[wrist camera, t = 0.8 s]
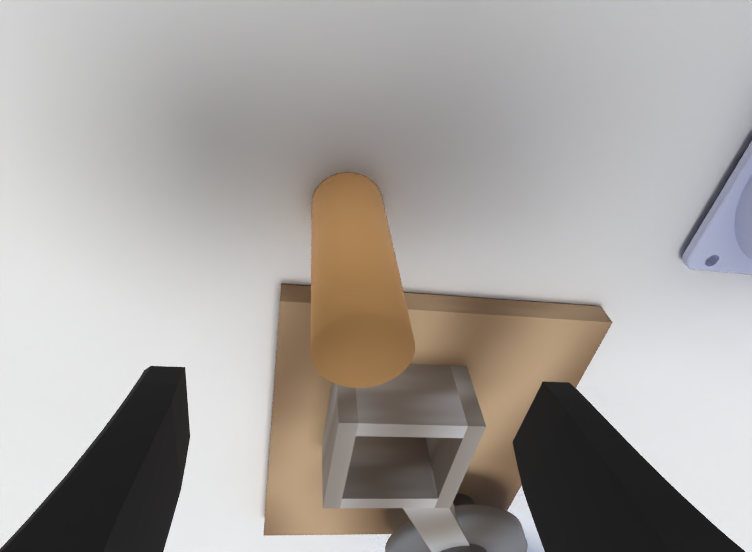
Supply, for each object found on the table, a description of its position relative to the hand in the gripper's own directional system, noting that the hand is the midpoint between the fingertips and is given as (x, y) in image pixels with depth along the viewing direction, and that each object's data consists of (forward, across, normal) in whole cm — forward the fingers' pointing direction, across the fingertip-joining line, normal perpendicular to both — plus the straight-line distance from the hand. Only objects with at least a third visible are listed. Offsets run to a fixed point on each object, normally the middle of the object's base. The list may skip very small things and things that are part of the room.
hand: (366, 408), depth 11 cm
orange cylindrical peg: (+9, 0, 0) cm, 9 cm away
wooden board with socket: (+9, -5, +12) cm, 15 cm away
